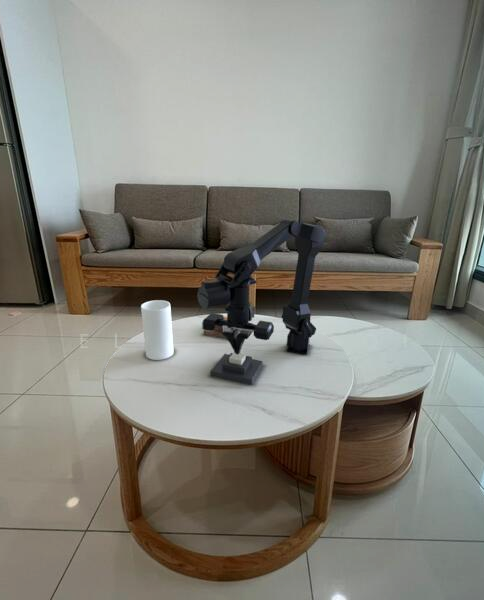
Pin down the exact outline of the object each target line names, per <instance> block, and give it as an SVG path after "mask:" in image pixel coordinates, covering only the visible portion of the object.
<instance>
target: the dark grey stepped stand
mask: <svg viewBox="0 0 484 600" xmlns="http://www.w3.org/2000/svg"><path fill="white" fill-rule="evenodd" d="M233 353H234V352H230V354H228V353H224V354H223V355H222V356H221V358H220V359H219V360H218V361H217V363H216V364H215V365H214V366H213V367H212V369H211V370H210V377H212V378H217V379H222V380H227V381H232V382H235V383H240V384H246V385H250V386H252V385H253V384H254V382H255V380H256V378H257V377H258V375H259V373H260V372H261V369H262V368H263V365H264V361H263V360H259V359H255V358H253V356H250V355H246V360H245V361H244V363H243V364H242V365H237V364H232V363H229V358H230V356H231V355H232V354H233Z"/></svg>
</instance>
